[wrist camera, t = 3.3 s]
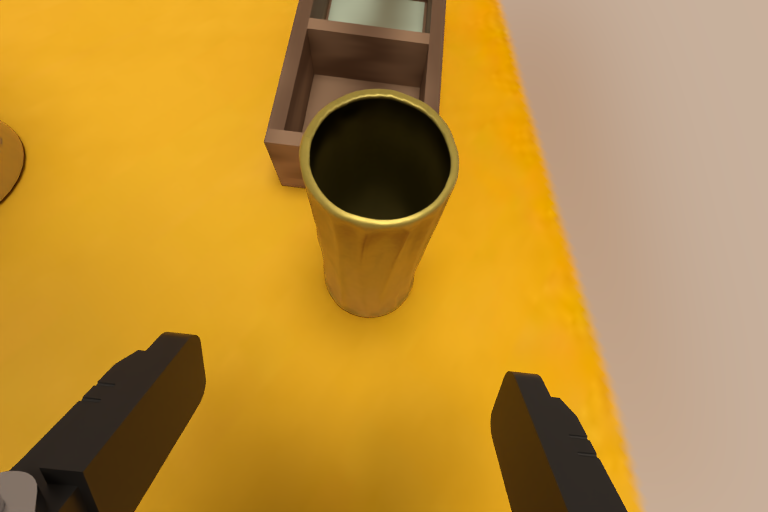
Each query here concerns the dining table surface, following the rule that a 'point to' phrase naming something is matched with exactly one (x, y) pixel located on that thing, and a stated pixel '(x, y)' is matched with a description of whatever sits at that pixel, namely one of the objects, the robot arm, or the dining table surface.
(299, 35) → the wooden compartment tray
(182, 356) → the robot arm
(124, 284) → the dining table surface
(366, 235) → the vase
